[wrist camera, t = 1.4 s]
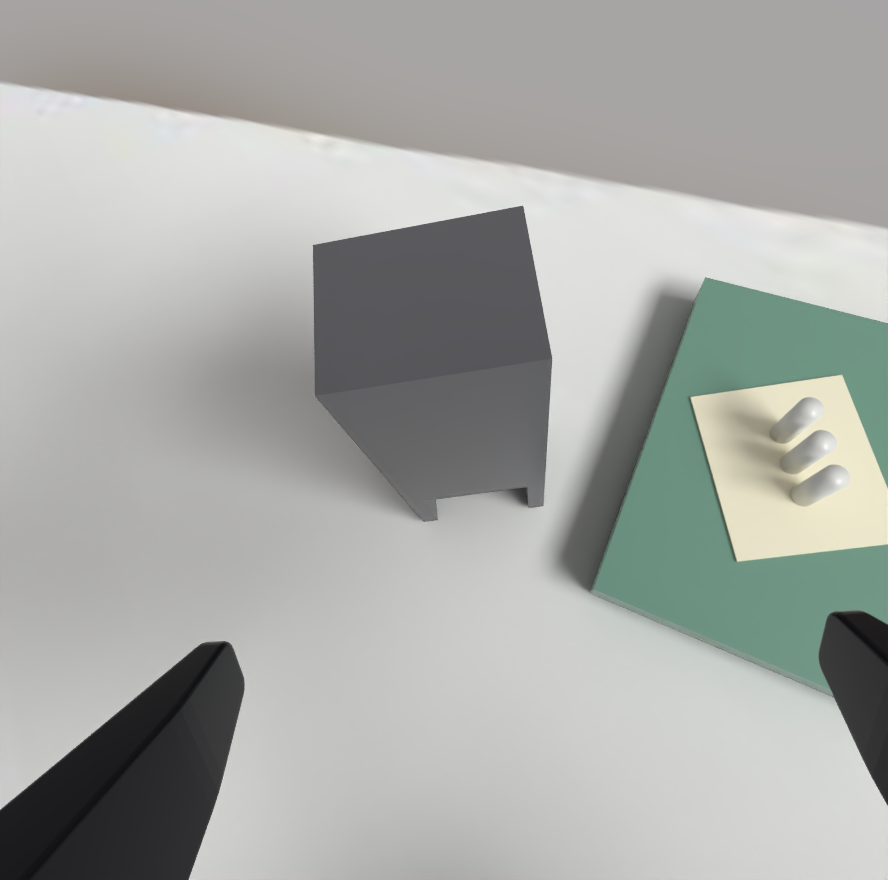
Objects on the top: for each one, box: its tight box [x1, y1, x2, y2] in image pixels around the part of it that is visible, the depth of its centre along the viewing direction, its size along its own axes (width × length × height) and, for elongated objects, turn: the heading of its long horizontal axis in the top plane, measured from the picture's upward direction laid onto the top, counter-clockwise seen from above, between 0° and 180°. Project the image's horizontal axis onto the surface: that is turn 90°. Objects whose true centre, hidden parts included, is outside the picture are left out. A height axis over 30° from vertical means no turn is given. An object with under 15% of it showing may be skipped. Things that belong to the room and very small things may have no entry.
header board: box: [590, 277, 888, 697], centre depth 20 cm, size 14×10×4 cm
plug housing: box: [313, 206, 552, 522], centre depth 18 cm, size 4×5×12 cm
